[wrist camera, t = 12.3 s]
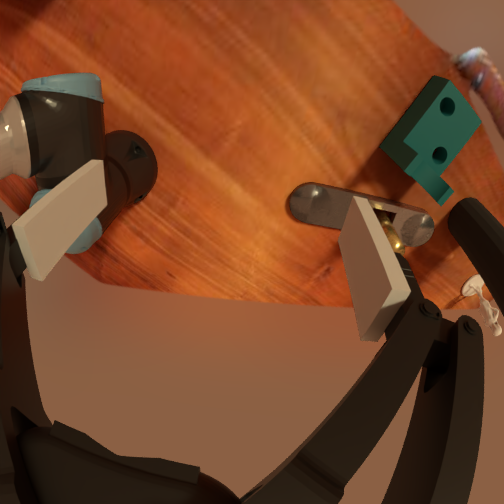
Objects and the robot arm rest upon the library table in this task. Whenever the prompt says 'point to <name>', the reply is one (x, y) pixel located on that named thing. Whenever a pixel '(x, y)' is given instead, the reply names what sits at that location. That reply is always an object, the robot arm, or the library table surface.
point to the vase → (481, 243)
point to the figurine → (482, 303)
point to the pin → (389, 231)
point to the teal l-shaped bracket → (432, 135)
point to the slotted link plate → (337, 205)
